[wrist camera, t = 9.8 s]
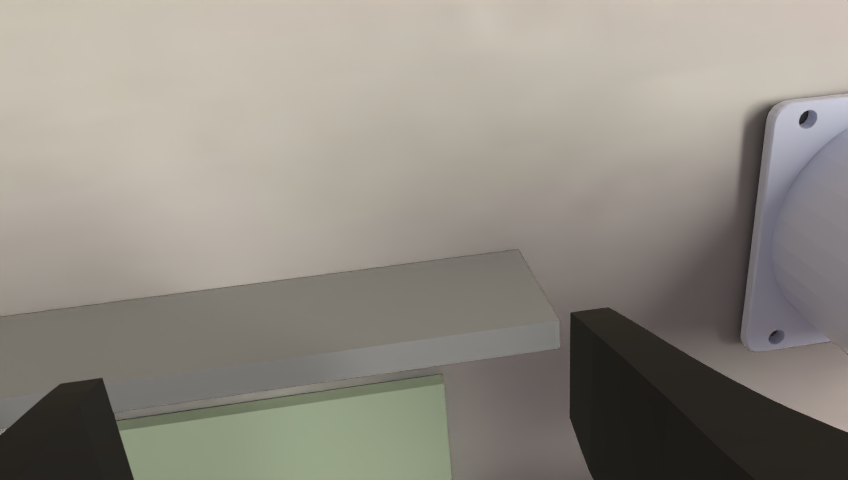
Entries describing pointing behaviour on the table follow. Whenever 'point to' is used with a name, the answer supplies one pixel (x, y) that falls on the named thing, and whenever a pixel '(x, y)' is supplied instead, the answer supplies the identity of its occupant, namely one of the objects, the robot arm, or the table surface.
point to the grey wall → (279, 333)
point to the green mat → (301, 437)
